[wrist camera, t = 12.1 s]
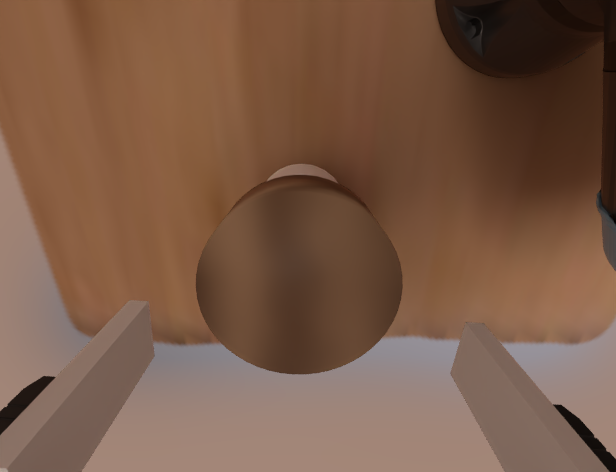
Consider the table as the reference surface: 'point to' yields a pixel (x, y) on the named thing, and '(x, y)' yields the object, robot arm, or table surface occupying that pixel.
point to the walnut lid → (299, 277)
